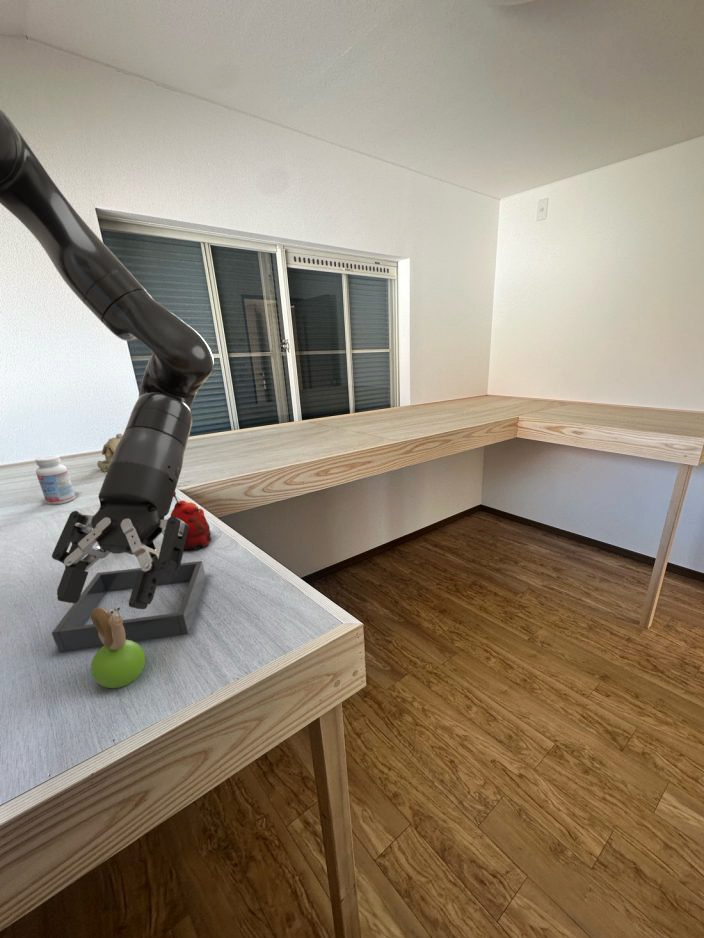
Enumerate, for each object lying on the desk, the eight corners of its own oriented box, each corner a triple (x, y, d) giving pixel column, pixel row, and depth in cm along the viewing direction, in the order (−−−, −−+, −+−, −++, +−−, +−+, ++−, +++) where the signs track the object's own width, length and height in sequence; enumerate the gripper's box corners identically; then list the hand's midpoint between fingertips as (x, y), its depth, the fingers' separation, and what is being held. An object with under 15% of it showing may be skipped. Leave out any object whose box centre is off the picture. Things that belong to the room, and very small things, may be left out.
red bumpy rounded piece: (218, 544, 82) (204, 472, 76) (182, 557, 78) (164, 481, 71) (202, 532, 87) (188, 464, 81) (167, 544, 83) (150, 472, 76)
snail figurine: (118, 709, 46) (86, 623, 42) (89, 686, 49) (56, 603, 45) (164, 677, 51) (139, 596, 46) (134, 658, 54) (109, 579, 49)
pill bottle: (40, 503, 103) (24, 460, 98) (65, 495, 108) (50, 453, 103) (58, 506, 101) (42, 462, 96) (82, 497, 106) (68, 455, 102)
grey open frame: (61, 657, 54) (51, 632, 52) (104, 593, 67) (97, 572, 65) (189, 638, 57) (183, 614, 55) (206, 581, 70) (202, 560, 68)
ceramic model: (132, 458, 139) (124, 428, 135) (158, 460, 136) (150, 430, 132) (93, 470, 127) (83, 438, 123) (120, 473, 124) (111, 440, 120)
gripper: (69, 457, 49) (13, 594, 43) (181, 460, 47) (139, 604, 41) (113, 484, 56) (70, 605, 50) (213, 488, 54) (180, 614, 48)
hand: (101, 605), depth 46 cm, fingers open, 8 cm apart
